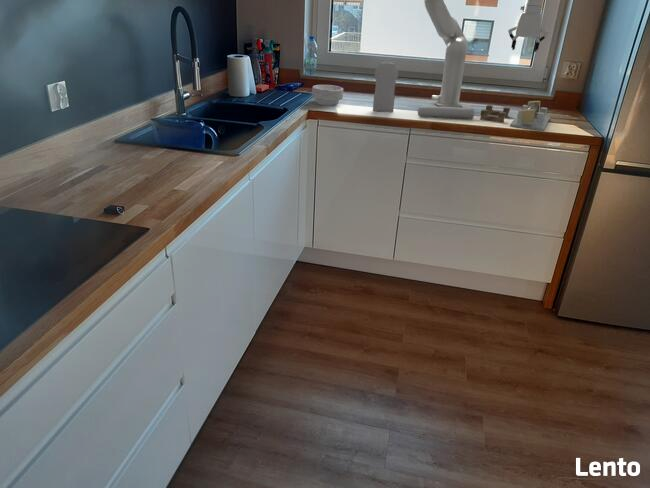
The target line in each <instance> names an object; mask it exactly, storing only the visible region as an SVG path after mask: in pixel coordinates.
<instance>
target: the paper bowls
mask: <svg viewBox="0 0 650 488" xmlns="http://www.w3.org/2000/svg"><path fill="white" fill-rule="evenodd" d="M311 90H312V91H311V97H312V98H313V99H315V101H316V103H317V104H318V105H322V106H336V105H337V104H338V103H339V101H341V100H343V98H344V87H341V86H340V85H339V86H338V85H332V84H316V85H312V88H311Z"/></svg>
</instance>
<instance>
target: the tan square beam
mask: <svg viewBox="0 0 650 488" xmlns="http://www.w3.org/2000/svg"><path fill="white" fill-rule="evenodd" d="M527 105H529V107H528V109H524V110H522V109H521V110H522V117H521V123H522V122H534V121H535V113H538V112H540V110H541V100H532V101H528V102H527Z"/></svg>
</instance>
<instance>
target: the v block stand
mask: <svg viewBox="0 0 650 488" xmlns="http://www.w3.org/2000/svg"><path fill="white" fill-rule="evenodd" d="M528 107H529V105H528V104H523V105H522V108H521V109H519V110H518V113H517V114H516V116H515V118H514V119H513V120H512V121H511V122H510V125H509V127H512V128H518V129H525V130H532V131H539V132H540V131H541V132H544V131H545V130H546V127H547V125H548V123H549V121H550V118H551V117H550V116H546V115H547V111H548V107H543V106H542V107H541V106H540V112H538V113H535V121H534V122H522V123H521V117H522V110H524V109H528Z"/></svg>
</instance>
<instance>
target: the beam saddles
mask: <svg viewBox="0 0 650 488" xmlns="http://www.w3.org/2000/svg"><path fill="white" fill-rule="evenodd" d="M493 107H494V106H493V104H486V107H485V108H483V109H481V110H480V118H479V119H480V121H481V120H483V121H487V122H488V121H490V122H497V123H503V122H504V121H505V118H507V117H509V113H510V111H511V107H508V106H504V107H503V110H499V109H498V110H497V109H493Z"/></svg>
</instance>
